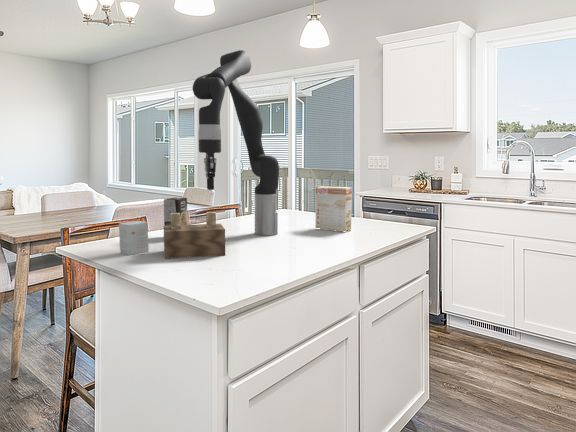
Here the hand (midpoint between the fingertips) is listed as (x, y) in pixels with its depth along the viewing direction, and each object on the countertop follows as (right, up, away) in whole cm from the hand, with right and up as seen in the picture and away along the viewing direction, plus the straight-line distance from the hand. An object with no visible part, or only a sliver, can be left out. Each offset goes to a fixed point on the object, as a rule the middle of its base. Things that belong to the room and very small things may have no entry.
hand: (210, 189), depth 157 cm
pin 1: (-12, -16, -1) cm, 20 cm away
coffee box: (-19, -18, +29) cm, 39 cm away
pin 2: (0, -16, +2) cm, 16 cm away
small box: (-27, -22, +2) cm, 35 cm away
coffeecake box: (+47, -16, +50) cm, 70 cm away
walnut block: (-6, -22, +1) cm, 23 cm away
